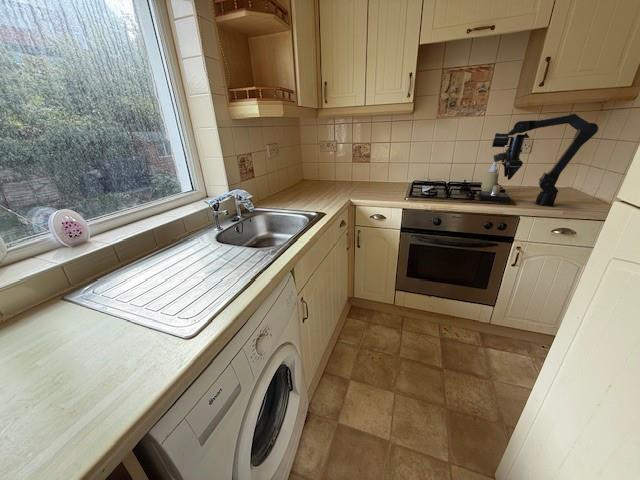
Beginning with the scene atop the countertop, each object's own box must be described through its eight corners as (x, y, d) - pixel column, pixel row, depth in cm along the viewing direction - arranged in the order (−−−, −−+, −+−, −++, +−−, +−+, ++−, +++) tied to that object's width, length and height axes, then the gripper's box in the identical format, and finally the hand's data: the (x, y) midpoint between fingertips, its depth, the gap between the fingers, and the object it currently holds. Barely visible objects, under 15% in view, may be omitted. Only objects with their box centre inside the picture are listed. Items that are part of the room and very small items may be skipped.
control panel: (504, 198, 148) (506, 192, 146) (508, 202, 139) (509, 196, 138) (478, 196, 152) (479, 190, 151) (480, 200, 144) (481, 194, 143)
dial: (489, 192, 147) (491, 184, 145) (498, 193, 146) (500, 184, 144) (490, 194, 144) (492, 185, 142) (499, 195, 142) (501, 186, 140)
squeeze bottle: (482, 194, 156) (489, 163, 149) (478, 191, 164) (485, 161, 156) (497, 194, 155) (505, 163, 147) (492, 191, 162) (500, 161, 155)
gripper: (494, 146, 145) (487, 174, 151) (499, 148, 130) (492, 180, 136) (518, 146, 141) (510, 175, 147) (527, 148, 125) (517, 181, 132)
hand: (507, 178), depth 141 cm, fingers open, 9 cm apart
